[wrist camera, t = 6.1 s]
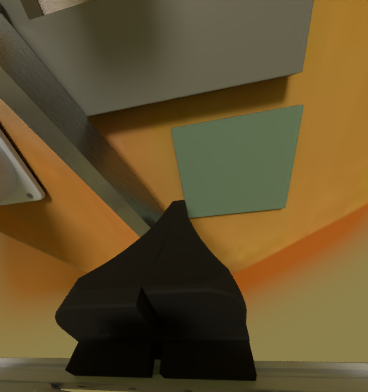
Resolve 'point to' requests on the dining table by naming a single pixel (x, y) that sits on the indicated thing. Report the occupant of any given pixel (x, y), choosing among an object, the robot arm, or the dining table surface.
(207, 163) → the pad
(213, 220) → the dining table surface
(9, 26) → the retaining bar
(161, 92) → the dock plate
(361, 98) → the dining table surface
